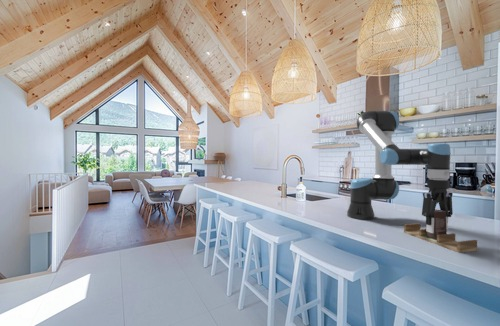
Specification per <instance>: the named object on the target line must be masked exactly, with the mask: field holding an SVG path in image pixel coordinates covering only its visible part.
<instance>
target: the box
mask: <svg viewBox="0 0 500 326" xmlns="http://www.w3.org/2000/svg"><path fill="white" fill-rule="evenodd" d="M432 218H434V233H430V232H427V237H429V238H432V239H435V240H437V235H442V234H448V228H447V229H446V211H443V210H440V209H436V208H435V211H434V214H433V217H432Z"/></svg>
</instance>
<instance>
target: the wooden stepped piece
mask: <svg viewBox="0 0 500 326" xmlns="http://www.w3.org/2000/svg"><path fill="white" fill-rule="evenodd" d="M421 224H422V223H420V222H418V223H417V222H416V223H406V224H405V223H404V224H403V233H404V234H407V235H410V236H413V237H416V238H417V239H421V240H423V241H426V242H429V243H432V244H434V245H437V246H440V247H443V248H446V249H448V250H450V251H454V252H455V253H459V254H460V253H467V252H477V251H478V240H477V239H471V240H470V239H469V240H461V241H460V240H459V241H456V233H447V234H442V235H437V240H435V239H432V238H429V237H427V231H426V228H421V227H422V226H421Z"/></svg>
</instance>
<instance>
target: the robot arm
mask: <svg viewBox="0 0 500 326" xmlns="http://www.w3.org/2000/svg"><path fill="white" fill-rule="evenodd" d="M399 125H400V116H399V115H398V114H397V113H396V111H392V110H367V111H364V112H362V113H360V115H359V116H358V118H356V128H357V129H358V131H359V132H360V133H361V134H364V135H365V136H366V138H367V139H368V140H369V142H371V143H372V144H373V146H374V147H375V155H374V156H375V157H374V159H375V161H374V162H375V165H374V166H375V167H374V168H375V169H374V170H375V174H374V175H373V176H372V178H370V177H360V178H354V179H352V180H351V181H350V197H349V199H350V200H349V201H350V203H349V206H348V210H347V211H346V213H347V214H346V215H347V217H349V218H352V219H358V220H374V219H375V212H374V209H373V206H372V205H373V204H372V200H385V201H388V200H394V199H395V198H396V197H398V195H399V192H400V185H399V182H397V180H395V177H394V176H393V175H392V166H394V165H395V166H399V165H400V166H401V165H409V166H410V165H411V166H412V165H413V166H416V165H417V166H427V171H426V172H427V174H426V175H427V176H426V177H427V178H428V179H427V180H426V181H427V182H426V187H427V188H428V192H422V197H423V199H422V210H421V216H423V217H425V224H426V228H425V229H426V231H427V232H430V233H434V218H432V217H433V214H434V211H435V210H436V207H437V204H438V205H439V210H443V211H446V229H447V230H448V226H449V225H448V224H449V218H451V217H452V216H453V214H454V213H453V199H452V198H453V192H450V191H449V192H448V191H447V190H449V189H450V183H451V182H450V180H449V179H450V171H451V170H450V169H451V146H450V144H449V143H430V144H429V143H428V147H427V148H399V147H398V145H397V144H395V143H394V142H393V140H392V137H393V135H394V134H395V131H396V130H397V129H398V128H399Z"/></svg>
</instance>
